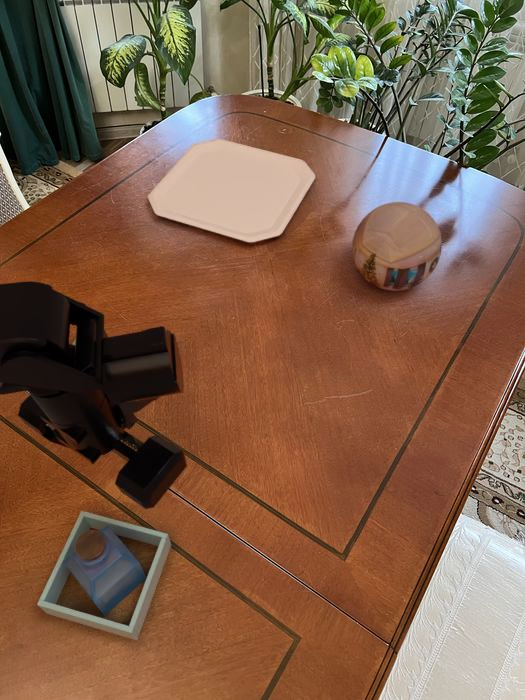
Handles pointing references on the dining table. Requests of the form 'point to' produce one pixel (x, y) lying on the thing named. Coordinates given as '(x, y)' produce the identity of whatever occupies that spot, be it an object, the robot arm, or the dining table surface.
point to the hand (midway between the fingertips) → (123, 471)
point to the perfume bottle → (104, 568)
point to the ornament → (396, 246)
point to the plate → (233, 190)
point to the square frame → (62, 571)
